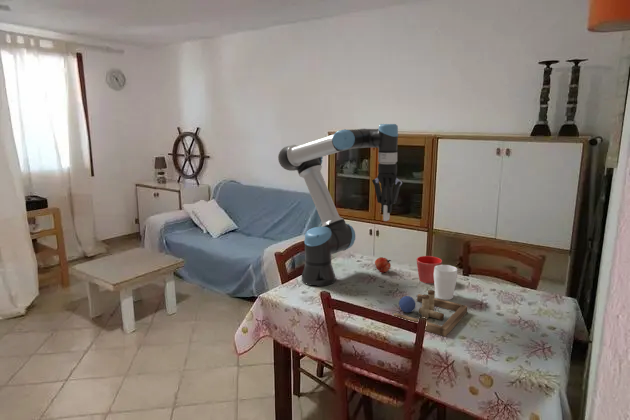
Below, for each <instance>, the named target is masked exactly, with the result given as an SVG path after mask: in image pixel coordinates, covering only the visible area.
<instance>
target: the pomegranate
mask: <svg viewBox="0 0 630 420" xmlns="http://www.w3.org/2000/svg"><path fill="white" fill-rule="evenodd" d="M391 262H392V260H391V259H388V258H386V257H383V256H382V257H381V256H379V257H378V258H376V260H375V261H374V265H375V269H374V271H376V270H378V271H379V273H382V274H384V272H385V273H387V272H388V271H390V269H391V267H392V265H391Z"/></svg>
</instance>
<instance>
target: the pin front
mask: <svg viewBox="0 0 630 420" xmlns="http://www.w3.org/2000/svg"><path fill="white" fill-rule="evenodd" d="M418 314H419V315H422V306H421V307H419V308H418ZM428 318H433V319H436V320H440V321H443V320H444V318H445V313H444V312H440V311H436V310H434V311H432V310H429V316H428Z"/></svg>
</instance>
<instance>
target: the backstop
mask: <svg viewBox="0 0 630 420" xmlns="http://www.w3.org/2000/svg"><path fill="white" fill-rule="evenodd" d="M422 295H423V294H422V293H418V294H417V295H416V296H417V297H416V302H420V303H422ZM434 307H439V308H442V309H446V310H450V311H454V313H453V314H452V315H450V317H449V318H448V319H446V321H445V322H444V323H443V324H442V325H440V324H436V323H433V322H428V321H426V322H427V326H426V332H429V333H432V334H436V335H440V336H443V337H445V338H446V337H447V336H448V335H449V334H450V333H451V331H452V330H453V329H455V327H456V326H457V324H459V322H460V321H461V320H462V319H463V318H464V317H465V315H466V314H467V313H468V305H465V304H462V303H457V302H452V301H449V300H443V299H439V298H437V297H435V298H434ZM393 315H394V316H397V317H400V318H403V319H406V320H410V321H414V322H418V318H414V317H413V316H412V317H411V316H407V315H404V314H402V313H397V312H394V313H393ZM393 315H392V316H393ZM447 334H448V335H447Z"/></svg>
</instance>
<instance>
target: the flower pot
mask: <svg viewBox="0 0 630 420" xmlns="http://www.w3.org/2000/svg"><path fill="white" fill-rule="evenodd" d="M437 265H443V260H442V258H439V257H437V256H432V255H422V256H418V257H417V258H416V267H417V273H418V279H419V281H420V282H421V283H424V284H434V267H435V266H437Z"/></svg>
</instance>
